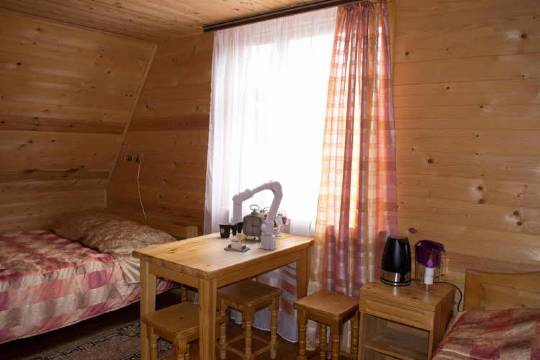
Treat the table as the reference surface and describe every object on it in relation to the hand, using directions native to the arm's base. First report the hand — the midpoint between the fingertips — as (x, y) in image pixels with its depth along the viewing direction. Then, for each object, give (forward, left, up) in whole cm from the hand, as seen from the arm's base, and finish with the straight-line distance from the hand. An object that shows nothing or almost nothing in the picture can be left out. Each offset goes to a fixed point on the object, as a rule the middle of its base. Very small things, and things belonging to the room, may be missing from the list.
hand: (236, 234), depth 287 cm
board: (-1, +1, -9) cm, 10 cm away
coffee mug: (+20, -26, -10) cm, 34 cm away
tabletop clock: (0, -29, -10) cm, 30 cm away
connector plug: (0, +1, -8) cm, 9 cm away
